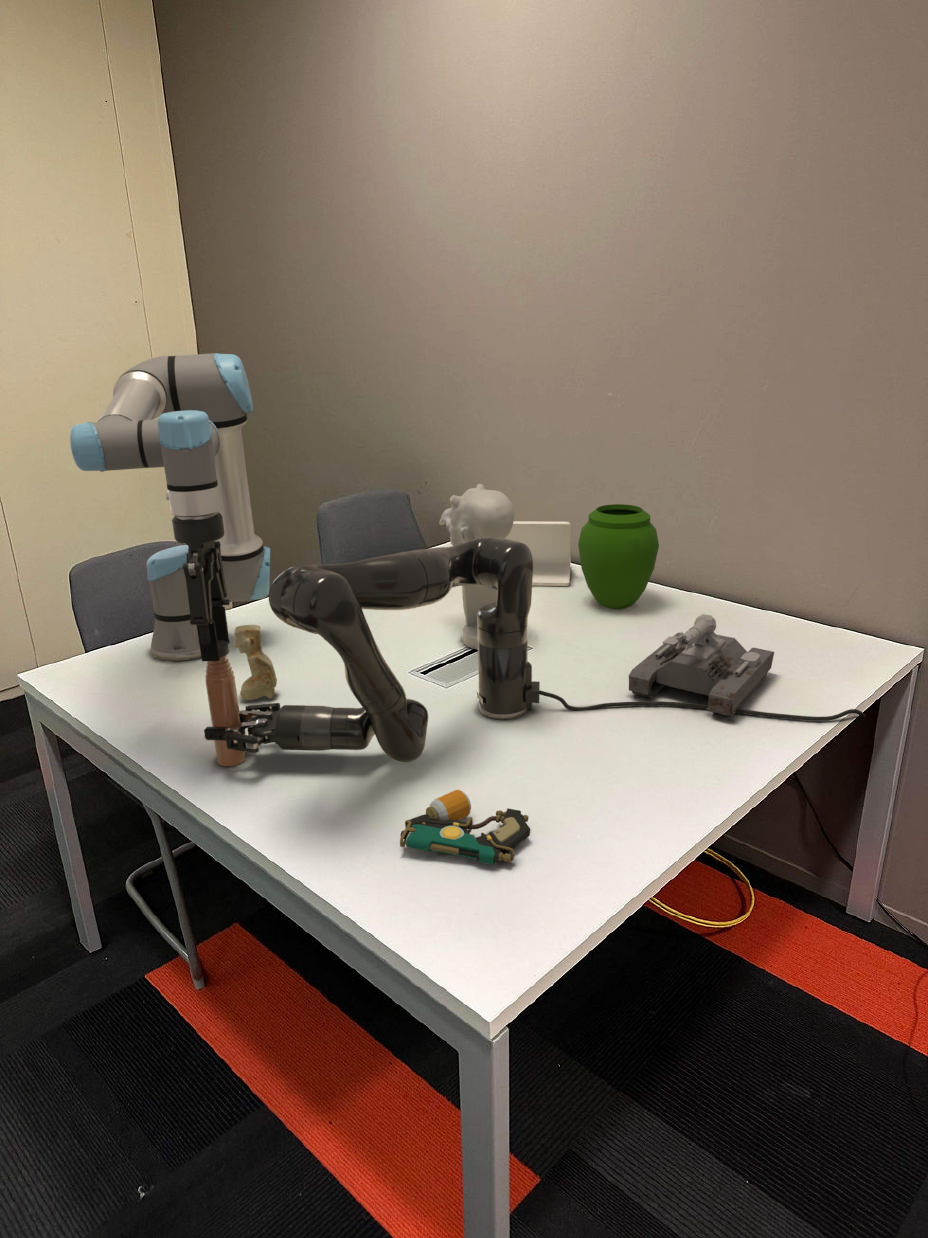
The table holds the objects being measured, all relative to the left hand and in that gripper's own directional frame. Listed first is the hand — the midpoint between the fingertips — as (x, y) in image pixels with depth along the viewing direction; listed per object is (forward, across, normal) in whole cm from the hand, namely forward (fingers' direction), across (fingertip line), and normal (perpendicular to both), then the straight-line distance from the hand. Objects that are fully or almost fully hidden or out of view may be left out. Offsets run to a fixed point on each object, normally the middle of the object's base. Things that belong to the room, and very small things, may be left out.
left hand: (216, 651), depth 140 cm
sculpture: (+20, -24, 0) cm, 32 cm away
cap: (-1, 0, 0) cm, 1 cm away
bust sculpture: (+20, -52, +45) cm, 72 cm away
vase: (+20, -70, +80) cm, 109 cm away
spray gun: (+20, +26, +40) cm, 52 cm away
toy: (+20, -22, +88) cm, 93 cm away
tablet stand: (+20, -97, +60) cm, 116 cm away
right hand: (+14, 0, -3) cm, 14 cm away
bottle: (+20, 0, 0) cm, 20 cm away
